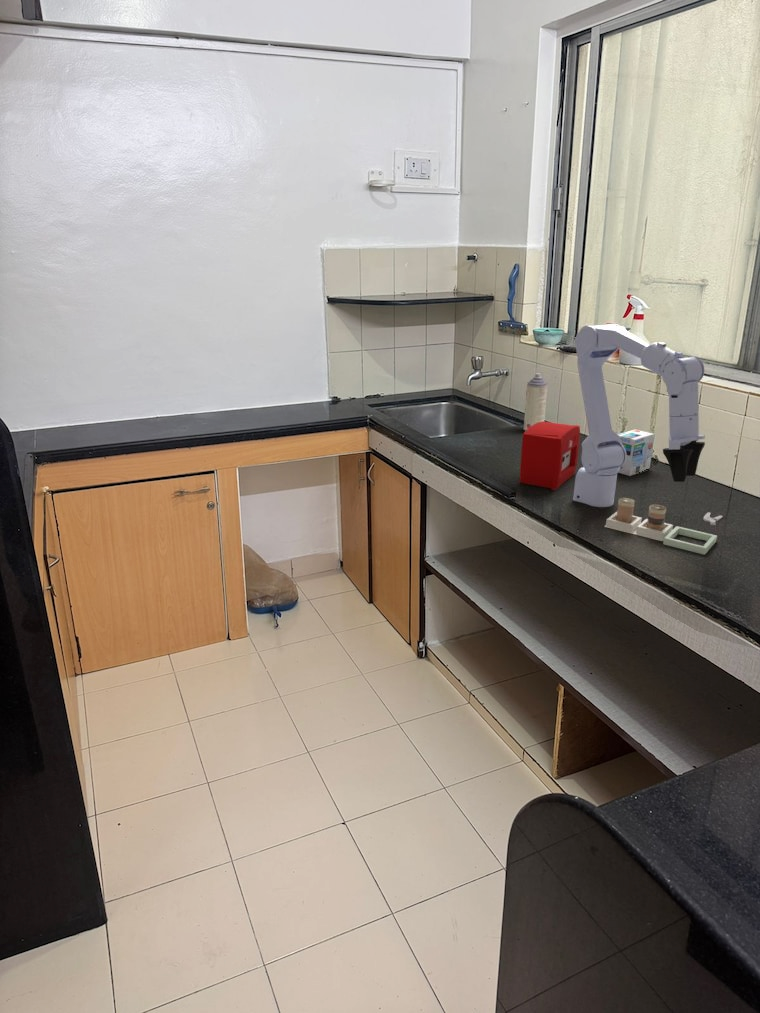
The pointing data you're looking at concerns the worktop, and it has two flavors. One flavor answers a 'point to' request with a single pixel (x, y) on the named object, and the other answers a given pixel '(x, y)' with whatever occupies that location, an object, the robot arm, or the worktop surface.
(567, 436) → the fire alarm
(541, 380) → the aerosol can
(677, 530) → the tray
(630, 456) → the light bulb box
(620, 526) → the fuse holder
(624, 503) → the fuse
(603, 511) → the worktop surface
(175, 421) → the worktop surface
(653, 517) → the cylinder
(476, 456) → the worktop surface
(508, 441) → the worktop surface
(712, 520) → the pliers
